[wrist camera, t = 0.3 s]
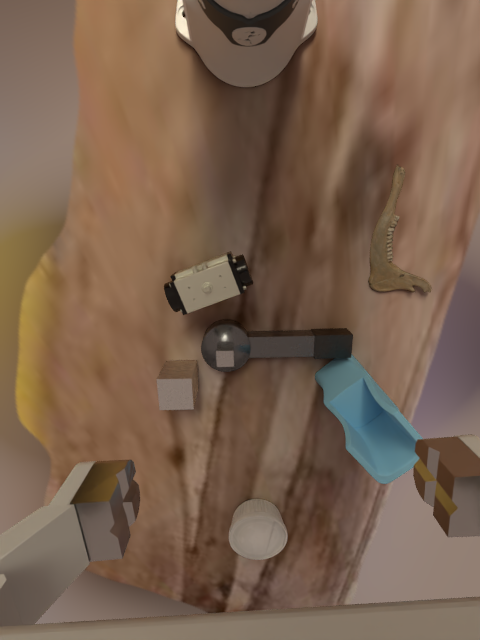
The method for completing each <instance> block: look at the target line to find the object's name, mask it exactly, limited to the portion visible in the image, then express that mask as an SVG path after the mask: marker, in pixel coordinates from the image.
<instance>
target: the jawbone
mask: <svg viewBox="0 0 480 640" xmlns="http://www.w3.org/2000/svg"><path fill="white" fill-rule="evenodd" d="M404 176H405V169H404V168H402V167H398V165H397V166H396V169H395V172H394V175H393V180H392V189H391V193H390V197H389V200H388V202H387V205H386V207H385V209H384V211H383V213H382V215H381V216H380V219H379V221H378V223H377V225H376V227H375V230H374V233H373V236H372V240H371V247H370V267H371V274H370V278H369V281H368V282H369V285H370V287H371V288H372V289H373V290H376V291H381V292H383V291H391V290H396V289H404V290H408V291H410V292H415V290H414V288H413V287H412V286H418V287H420V288H422V289H423V291H424V293H425V292H431V289H432V288H431V285H430V284H429V283H428V282H427V281H426V280H425V279H422V278H420V277H417V276H414V275H412V274H409V273H407V272H404V271H402V270H401V269H399V268H398V267H397V266H396V265H394V264H393V263H392V262H391V261H393V260H392V258H393V255H392V253H393V252H392V249H393V247H391V246H392V243H391V242H392V241H393V240H392V237H393V235H392V232H393V231H394V227H395V226H396V225H397V221H398V219H399V216H396V215H395V208H396V203H397V199H398V196H399V194H400V191H401V188H402V185H403V181H404Z"/></svg>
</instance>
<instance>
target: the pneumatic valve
mask: <svg viewBox="0 0 480 640" xmlns="http://www.w3.org/2000/svg"><path fill="white" fill-rule="evenodd" d="M171 279H172V281H170V282H168V283H165V285H164V290H165V294H166V297H167V300H168V302H169V304H170V306H171V308H172V309H173V310H174V311H175V312H178V311H181V312H182V313H183V315H185V314H188V313H190V312H193V311H196V310H198V309H201V308H204V307H207V306H209V305H212V304H215V303H218V302H220V301H223V300H226V299H228V298H231V297H234V296H237V295H239V294H242V293H245V291H244V290H246V286H249V285H252V284H253V280H252V277H251V275H250V272H249V269H248V266H247V263H246V261H245V258H244V256H243V254H242V255H239V256H233V255H232V252H228V253H225V254H223V255H220V256H217V257H215V258H212V259H210V260H207V261H204V262H202V263H199V264H196V265H194V266H191V267H189V268H186V269H183V270H181V271H178V272H175V273H174V274H172V275H171Z"/></svg>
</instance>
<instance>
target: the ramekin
mask: <svg viewBox="0 0 480 640" xmlns="http://www.w3.org/2000/svg"><path fill="white" fill-rule="evenodd" d="M287 539H288V534H287V529H286V526H285V524H284V523H283V520H282V517H281V515H280V512H279V510H278V509H277V507H276V506H275V505H274V504H272V503H271V502H269V501H267V500H264V499H251V500H247V501H245V502H244V503H242V504H241V505H240V506H238V508H237V509H236V511H235V512H234V515H233V519H232V524H231V527H230V529H229V543H230V545H231V547H232V549H233V550H234V551H235V552H236V553H237V554H239V555H241V556H242V557H245V558H248V559H253V560H263V559H268V558H271V557H273V556H275V555H277V554H278V553H279V552H280V551H281V550H282V549H283V548H284V547H285V545H286V543H287Z"/></svg>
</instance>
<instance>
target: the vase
mask: <svg viewBox="0 0 480 640" xmlns="http://www.w3.org/2000/svg"><path fill="white" fill-rule="evenodd" d="M315 380H316V381H317V383H318V384H319V385H320V386H321V387H322V388H323V391H324V404H325V406H326V407H327V408H328V409H329V410H330V411H331V412H332V413H333V414H334V415H335V417H336V418H337V419H338V420H339V421H340V422H341V424H342V425H343V428H344V431H345V436H346V450H347V451H348V452H349V453H350V454H351V455H352V456H353V457H354V458H355V459H356V460H357V461H358V462H359V463H360V464H361V465H362V466H363V467H364V468H365V469H366V471H367V472H368V473H369V474H370V475H371V476H372V477H373V478H374V479H375V480H376V481H378V482H379V483H382V484H387V483H390V482H392V481H393V480H395V479H396V478H398V477H400V476H401V475H402V474H404V473H405V472H407V471H409V470H410V469H411V468H413V467H414V464H415V463H416V462H417V461H418V460H419V457H418V456H417V454H416V453H415V444H416V442H417V440H418V439H423V438H422V437H421V436H420V435H419V434H418V432H417V431H416V430H415V429H414V428H413V427H412V425H411V424H410V423H409V422H408V421H407V420H406V419H405V417H404V416H403V415H402V414H401V413H400V412H399V409H398V408H397V406H396V405H395V404H394V403H393V402H392V401H391V399H390V398H389V397H388V396H387V395H386V394H385V393H384V391H383V390H382V389H381V388H380V387H379V386H378V384H377V383H376V382H375V381H374V380H373V378H372V377H371V376H370V375H369V374H368V372H367V371H366V370H365V369H364V368H363V367H362V365H361V364H360V363H359V362H358V361H357V360H356V358H355V357H354V356H353V355H352V354H351V358H334V359H333V360H332V361H330V362H329V363H328V364H327V365H325V366H324V367H323V368H321V369H320V370H319V371H318V372H317V373H316V374H315Z"/></svg>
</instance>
